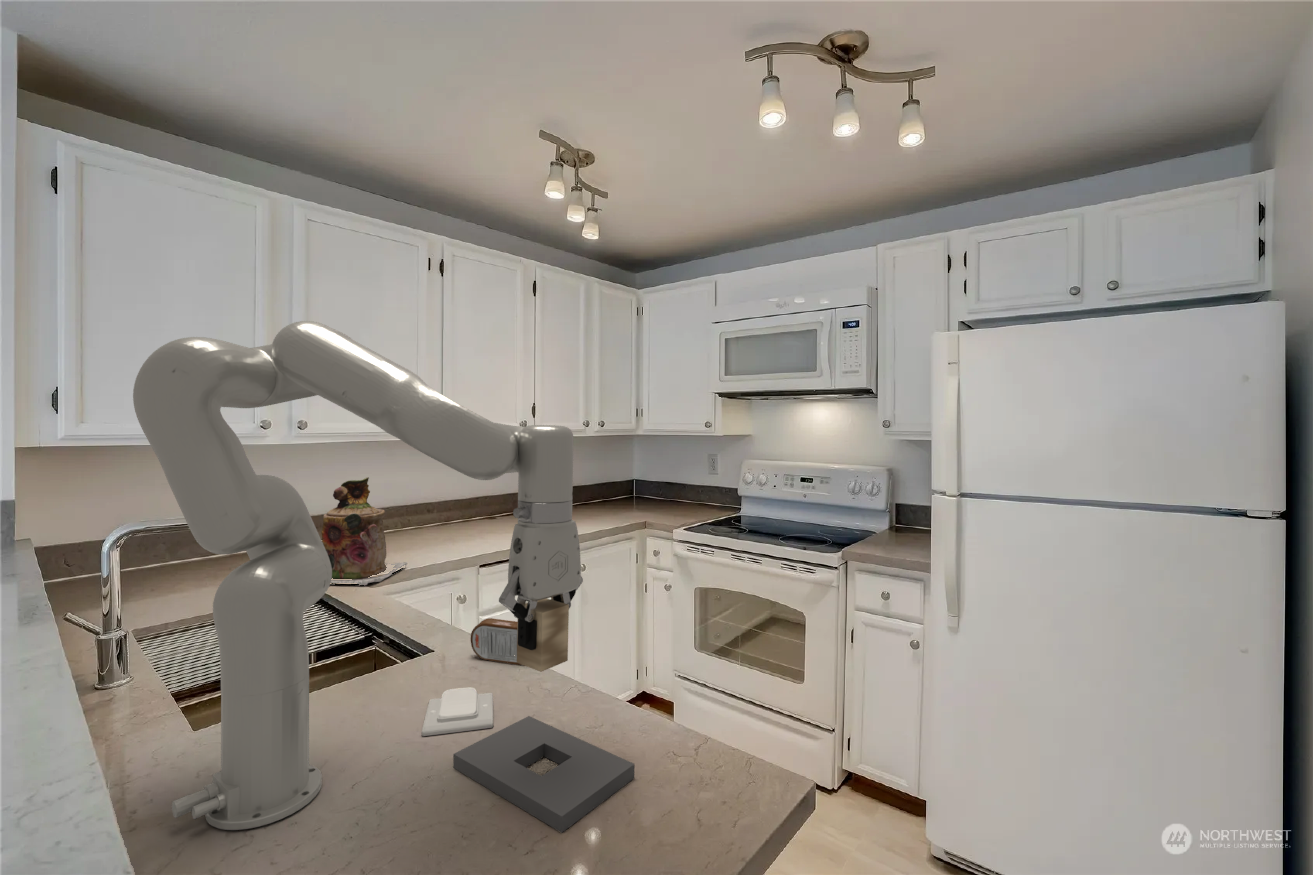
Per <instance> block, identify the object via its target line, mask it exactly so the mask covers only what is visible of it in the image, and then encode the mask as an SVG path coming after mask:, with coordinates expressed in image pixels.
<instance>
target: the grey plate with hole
mask: <svg viewBox="0 0 1313 875" xmlns="http://www.w3.org/2000/svg"><path fill="white" fill-rule="evenodd" d="M542 758H546V759H548V760H550V761H552V762H554V763H556V764H558V765H557V766H555V767H553V768H552V769H550V770H548V771H547V772H546V773H544V774H542V775H541V774H540V773H536V772H535V771H534V770H532V769H530V768H528V767H529V766H531V765H533V764H534V763H536V762H537V761H539V760H541V759H542ZM452 760H453V764H452V765H453V766H452V767H453V768H454V769H455V770H456V771H458V772H459V773H462V774H463V775H465V776H466V777H468V778H470V779H471V780H473V781H475V782H477V784H480V785H481V786H483V787H485V788H487V789H488V790H490V791H492V792H493V793H494V794H497V795H498V796H499V797H501V798H503V799H505V800H506V801H508V802H510V804H513V805H514V806H516V807H517V808H520V809H521V810H523V811H524V812H526V813H528V814H529V815H531V816H532V817H535V818H536V819H538V820H540V821H541V822H543V823H544V824H546V825H548V826H550V827H551V828H552V829H554V830H556V831H558V832H559V833H561V834H562V833H563V832H565V831H567V829H569V828H570V827H572V826H573V825H574V824H575V823H577V822H578V821H579V820H581V819H583V817H584V816H586V815H587V814H588V813H590V812H591V811H593V810H594V809H596V808H597V807H598V806H599V805H601V804H602V803H604V802H605V801H606V800H607V799H608V798H610V797H611V796H613V795H614V794H615V793H617V792H619V790H620V789H622V788H623V787H624V786H626V785H628V783H630V782H632V781H633V780H634V779H635V767H636V766H635V763H633V762H631V761H629V760H628V759H625V758H622V757H621V756H618V755H616V754H614V753H612V752H609V751H607V750H605V749H603V748H601V747H598V746H596V745H595V744H592V743H590V742H587V741H585V740H584V739H580V738H578V737H576V736H574V735H573V734H570V733H568V732H565V731H563V730H561V729H559V728H556V727H554V726H552V725H550V724H548V723H546V722H543V721H541V720H540V719H536V717H535V718H534V717H532V716H530V715H528V716H526V717H524V718H522V719H520V720H517V721H516V722H514V723H512V724H510V725H508V726H506V727H505V728H502V729H500V730H498V731H496V732H494V733H492V734H490V735H488V736H486V737H484V738H482V739H480V740H478V741H476V742H474V743H472V744H470V745H468V746H467V747H464V748H462V749H460V750H458V751H456V752H454V753H453V758H452Z"/></svg>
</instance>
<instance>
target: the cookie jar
mask: <svg viewBox="0 0 1313 875" xmlns="http://www.w3.org/2000/svg"><path fill="white" fill-rule="evenodd" d="M369 479H370V477H365V478H363V479H360V480H356V479H355V480H353V479H351V480H346V481H345V482H343V483H341V484H340V486H339V487H337V488H335V489H334V490H333V494H332V497H333V499H334V500H335V501H336V500H337V501H338V503H337V505H336V507H334V508H332V509H330V510H328V511H327V513H324V514H323V518H322V521H323V522H322V529H321V531H320V533H321V534H320V535H321V541H322V543H323V545H324V547H325V549H326V552H327V554H328V557H329V560H330V563H331V567H332V578H333V579H352V580H331V583H357V584H360V585H364V586H367V585H368V584H370V583H377V582H379V583H380V582H382V581H383V580H385V579H387V578H388V577H391V576H392V575H393V574H392V573H393V572H395V571H396V570H397V569H398V568H401V567H402V566H404V565H406V566H407V565H408V561H403V562H394V563H395V564H391V565H395V566H394V567H393V568H396V569H393V570H392V571H390V572H389V573H388V574H385V575H383V576H378V577H370V576H372V575H377V574H379V573H381V572H384V571H385V570H386V568H387V567H386V565H385V564H386V563H385V561H386V559H387V542H386V535H385V528H384V522H383V520H384V519H383V518H384V517H385V516H386V510H385V509H381V508H376V507H374V506H372V505H371V504H370V503H369V502H368V498H369V496H370V493H371V490H370V489H369V486H370V485H369V484H368V482H369ZM368 577H370V578H368ZM360 585H359V586H360Z"/></svg>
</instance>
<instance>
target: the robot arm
mask: <svg viewBox="0 0 1313 875" xmlns="http://www.w3.org/2000/svg"><path fill="white" fill-rule="evenodd" d="M132 392H133V393H132V398H133V399H132V400H133V408H134V412H135V414H136V418H137V421H138V423H139V425H140V427H141V429H142V432H143V434H144V435H145V437H146V439H147V441H148V443H149V445H150V447H151V448H152V450H153V452H154V454H155V456H156V457H157V460H158V462H159V464H160V466H161V468H162V471H163V472H164V475H165V477H166V480H167V484H168V485H169V487H170V489H171V491H172V493H173V495H174V496H173V497H175V500H176V502H177V504H178V507H179V509H180V510H181V513H182V515H183V518H184V520H185V521H186V524H187V527H188V529H189V530H190V533H191V534H192V536H193V537H194V540H195V541H196V543H197V544H198V545H199V546H200V547H201V548H202V549H204V550H205V551H207V552H210V553H211V554H214V555H215V554H216V555H233V554H238V553H241V552H245V551H246V553H247V555H248V558H249V560H247V561H246V562H244V563H241V565H239V566H237V567H235V568H234V569H233V570H232V571H230V573H228V574H227V575H226V577H225V578H224V579H223V580H222V581H221V583H220V584H219V586H218V587H217V590H216V591H215V594H214V596H213V597H214V598H213V601H212V618H213V622H214V628H215V632H216V637H217V641H218V647H219V662H220V663H219V664H220V695H221V696H220V702H221V703H220V771H218V772H215V773H213V774H212V783H209V784H207V785H204V786H203V790H200V791H196V792H195V793H190V794H187V795H185V796H183V797H179V798H177V799H174V800H172V801H171V812H172V816H173V818H174V819H177V818H180V817H182V816H184V815H186V814H189V813H191V816H192V819H193V820H195V819H198V818H200V817H203V816H205V819H206V822H207V823H208V824H209V825H210V826H211V827H213V828H217V829H219V830H226V831H238V830H239V831H240V830H249V829H253V828H259V827H264V826H266V825H270V824H272V823H275V822H278V821H279V820H280V821H281V820H282V819H284V818H286V817H289V816H291V815H293V814H294V813H296V812H298V811H300V810H301V809H302V808H304V807H305V806H307V805H308V804H309V803H310V802H311V801H312V800H313V799H315V798H316V796H317V795H319V792H320V791H321V788H322V785H323V774H322V772H321V770H320V769H319V768H318V767H316V766H315V765H313V764H309V763H310V655H309V653H310V652H309V643H308V638H307V634H306V630H305V629H306V628H305V624H304V613H305V612H306V611H307V610H308V609H309V608H311V607H312V606H313V605H315V604H316V603H317V602H318V601H320V599H322V598H323V596H324V595H325V594H326V593H327V591H328V589H329V587H330V586H331V584H330V583H331V579H332V567H331V563H330V560H329V557H328V554H327V552H326V549H325V547H324V545H323V543H322V537H321V536H320V534H319V532H318V529H317V528H316V525H315V523H314V521H313V519H312V516H311V514H310V511H309V509H308V507H307V505H306V503H305V501H304V499H303V498H302V496H301V495H300V493H299V492H298V491H297V489H295V487H294V486H293V485H292V484H290V483H289V482H288V481H286V480H285V479H284V478H280V477H278V476H275V475H269V474H257V473H256V472H255V470H254V468H253V466H252V464H251V462H250V461H249V459H248V457H247V454H246V452H245V447H244V445H243V443H242V442H241V440H240V439H239V437H238V435H237V434H236V432H234V430H233V429H232V428H231V427H230V425H229V424H228V423H227V421H226V420H225V419H224V417H223V415H222V412H221V408H235V409H254V408H256V409H257V408H262V407H268V406H272V405H277V404H283V403H287V402H291V401H296V400H302V399H306V398H311V397H315V396H318V397H320V398H323V399H325V400H327V401H329V402H330V403H333V404H335V405H336V406H339V407H341V408H342V409H344V410H346V411H348V412H349V413H350V412H351V413H352V414H354V415H355V416H357V417H359V418H362V419H363V420H366V421H367V422H369V423H371V424H372V425H374V426H376V427H378V428H380V430H382V431H384V432H385V433H387V434H389V435H391V436H393V437H395V438H396V439H398V440H400V441H402V442H404V443H405V444H407V445H408V446H410V447H412V448H414V450H417V452H420V453H422V454H424V455H426V456H427V457H428V458H431V459H433V460H435V461H437V462H439V463H441V464H443V465H445V466H447V467H449V468H450V469H452V470H455V471H457V473H460V474H462V475H465V476H467V477H469V478H472V479H475V480H478V481H491V480H495V479H498V478H501V476H503V475H504V474H510V473H511V474H512V473H513V474H514V473H518V481H517V482H518V484H517V491H518V492H517V507H516V508H513V510H512V511H513V512H512V514H513V517H514V518H515V519H517V523H515V524H514V527H513V531H512V536H511V542H510V546H509V547H510V548H509V558H508V568H507V569H508V571H507V572H508V573H507V583H506V586H505V587H504V589H503V591H502V593H501V594H500V596H499V598H498V602H499V604H501V605H502V606H504V608H506V609H508V611H510V613H512V614H513V617H514V618H516V619H517V622H518V645H519V646H521V647H524V648H526V649H529V650H534V649H536V637H537V621H536V620H533V618H534V614H535V610H536V605H537V601H538V600H542V599H546V598H547V599H551V600H554V601H558V602H561V603H565V604H568V605H569V610H570V609H571V607H572V600H573V598H574V597H575V595H576V593H577V590H579V588H580V586H581V585H582V583H583V582H584V578H583V576H582V575H581V570H582V568H581V566H582V564H581V549H580V546H581V545H580V536H579V532H578V526H577V523H576V520H573V492H574V490H573V485H574V484H573V482H574V481H573V479H574V434H573V431H572V430H571V428H569V427H568V426H565V425H556V424H555V425H551V424H550V425H547V424H546V425H544V424H543V425H542V424H536V425H535V424H532V425H527V426H517V425H510V424H504V423H498V422H494V421H492V420H489V419H487V418H485V417H483V416H482V415H480V414H478V413H477V412H474V411H472V410H470V409H469V408H467V407H465V406H464V405H461V404H459V403H457V402H455V401H454V400H452V399H450V398H449V397H447V396H445V395H443V394H442V393H440V392H438V391H437V390H435V388H432V387H431V386H429V385H428V384H427V383H426V382H425V381H424V380H423V379H422V378H421V377H420V376H419V375H417V374H416V373H415V372H413V371H411V370H410V369H408V368H405V367H404V366H403V365H400V364H398V363H396V362H395V361H393V360H391V359H389V358H387V357H385V356H383V355H381V354H380V353H377V351H374V350H372V349H370V348H368V347H366V346H365V345H363V344H361V343H359V342H358V341H355V340H354V339H353V338H352V337H350V336H348V335H347V334H345V333H343V332H341V331H339V330H336V329H334V328H332V327H330V326H329V325H326V324H323V323H320V322H317V321H312V320H299V321H294V322H292V323H289V324H288V325H285V327H283V328H282V329H280V330H279V331H278V332H277V334H275V336H274V339H273V341H272V343H271V344H266V345H260V346H255V347H247V346H244V345H240V344H236V343H233V342H229V341H225V340H221V339H217V338H212V337H204V336H189V337H182V338H178V339H174V340H171V341H169V342H167V343H165V344H163V345H161V346H160V347H158V348H157V349H156V350H154V351H153V352H152V353H151V354H150V355H149V356H148V357H147V359H146V360H145V361H143V363H142V366H141V367H140V368H139V371H138V372H137V375H136V378H135V380H134V384H133V391H132ZM516 596H517V599H516ZM525 603H528V604H527V609H526V608H525Z"/></svg>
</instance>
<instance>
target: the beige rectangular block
mask: <svg viewBox="0 0 1313 875" xmlns="http://www.w3.org/2000/svg"><path fill="white" fill-rule="evenodd" d="M527 604H528V602H526V603H525V608H526V609H527ZM569 616H570V609H569V605H568V604H565V603H561V602H558V601H554V600H551V598H546V599H542V600H538V601H537V605H536V610H535V614H534V618H533V620H536V621H537V637H536V649H534V650H529V649H526V648H524V647H521V646H519V645H518V621H516V622H517V663H519V664H522V666H525V667H528V668H530V669H532V670H535V671H538V672H540V673H543V672H544V671H547V670H550V669H551V668H553V667H556V666H559V665H562V664H563V663H566V662H568V661H569V660H568V658H569V618H570V617H569Z"/></svg>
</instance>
